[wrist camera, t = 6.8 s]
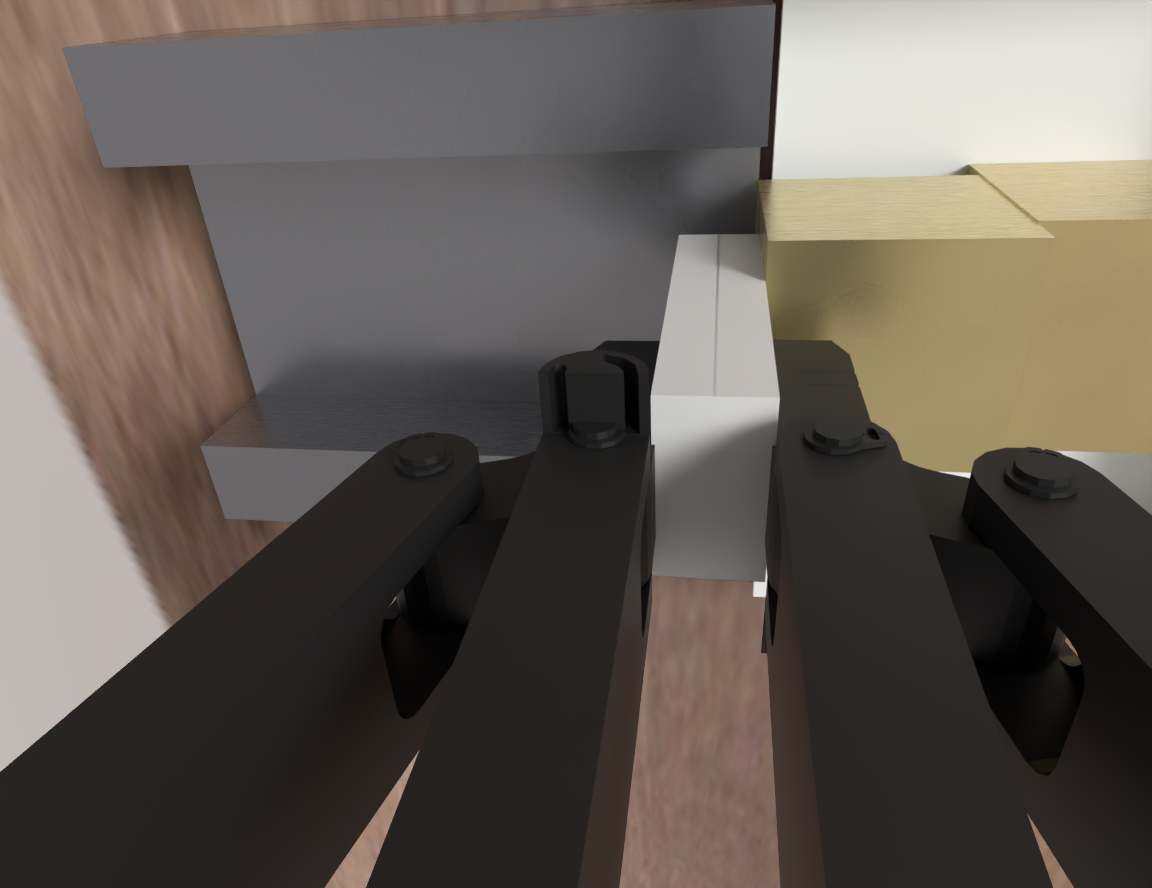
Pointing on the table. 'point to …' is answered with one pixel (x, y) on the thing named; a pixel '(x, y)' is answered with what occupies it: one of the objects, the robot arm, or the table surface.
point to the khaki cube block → (1086, 306)
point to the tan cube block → (911, 298)
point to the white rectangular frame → (965, 102)
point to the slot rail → (436, 208)
